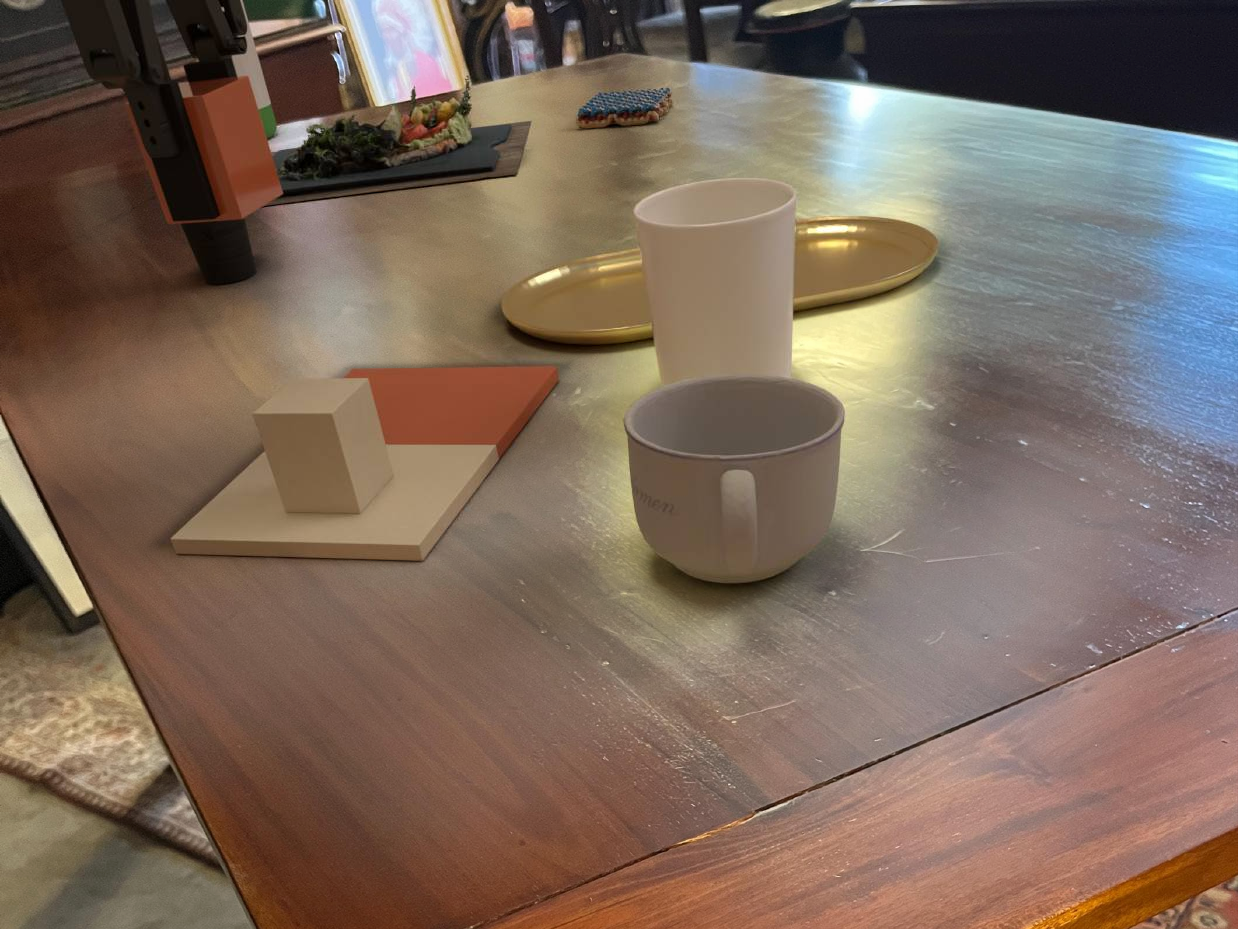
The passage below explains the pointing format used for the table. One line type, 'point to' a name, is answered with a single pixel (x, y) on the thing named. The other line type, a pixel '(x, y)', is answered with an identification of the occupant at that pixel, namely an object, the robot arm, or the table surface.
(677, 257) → the white tumbler
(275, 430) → the cream block
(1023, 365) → the table surface
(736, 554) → the teacup
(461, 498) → the sorting board
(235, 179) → the terracotta block
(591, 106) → the blueberry tart
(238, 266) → the drinking cup
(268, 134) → the wine bottle
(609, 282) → the serving platter
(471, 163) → the plated dish
